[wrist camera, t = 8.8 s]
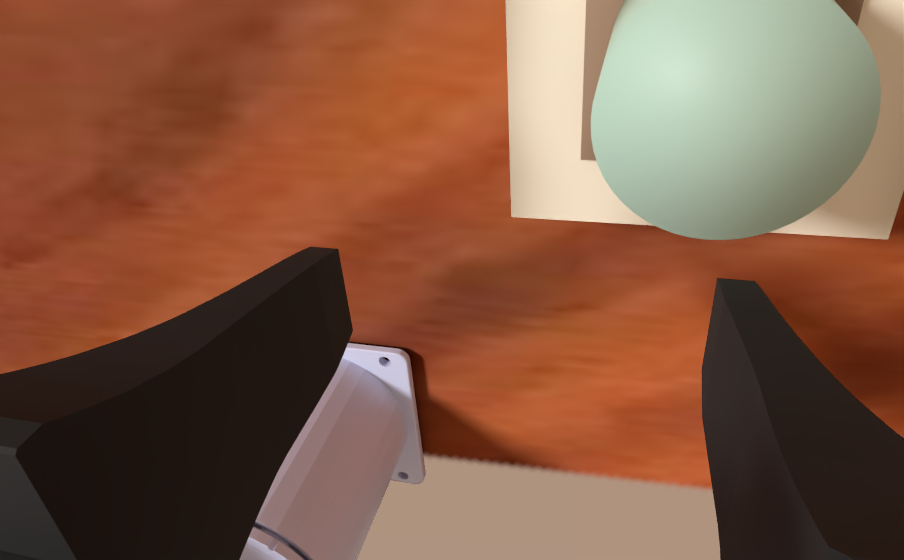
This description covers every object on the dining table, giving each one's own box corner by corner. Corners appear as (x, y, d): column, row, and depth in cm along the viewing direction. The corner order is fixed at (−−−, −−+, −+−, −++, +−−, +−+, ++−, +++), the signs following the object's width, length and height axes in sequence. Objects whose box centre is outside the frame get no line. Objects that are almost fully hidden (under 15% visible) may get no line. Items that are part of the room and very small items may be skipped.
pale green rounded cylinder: (604, 139, 18) (585, 231, 14) (616, -61, 16) (597, -17, 12) (801, 146, 17) (841, 248, 13) (850, -69, 14) (919, -24, 10)
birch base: (528, 174, 23) (510, 219, 20) (524, -188, 17) (499, -188, 15) (861, 189, 20) (889, 243, 18) (980, -229, 15) (1045, -239, 12)
